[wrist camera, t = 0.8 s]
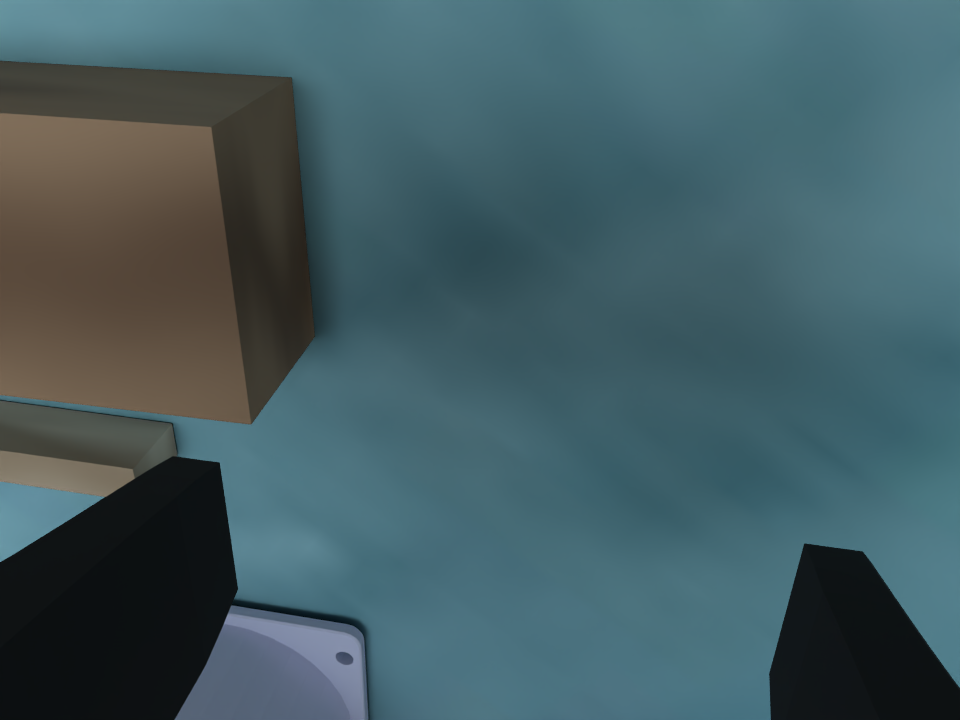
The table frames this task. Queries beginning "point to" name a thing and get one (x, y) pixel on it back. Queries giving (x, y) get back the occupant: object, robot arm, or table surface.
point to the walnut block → (150, 239)
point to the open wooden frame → (78, 448)
